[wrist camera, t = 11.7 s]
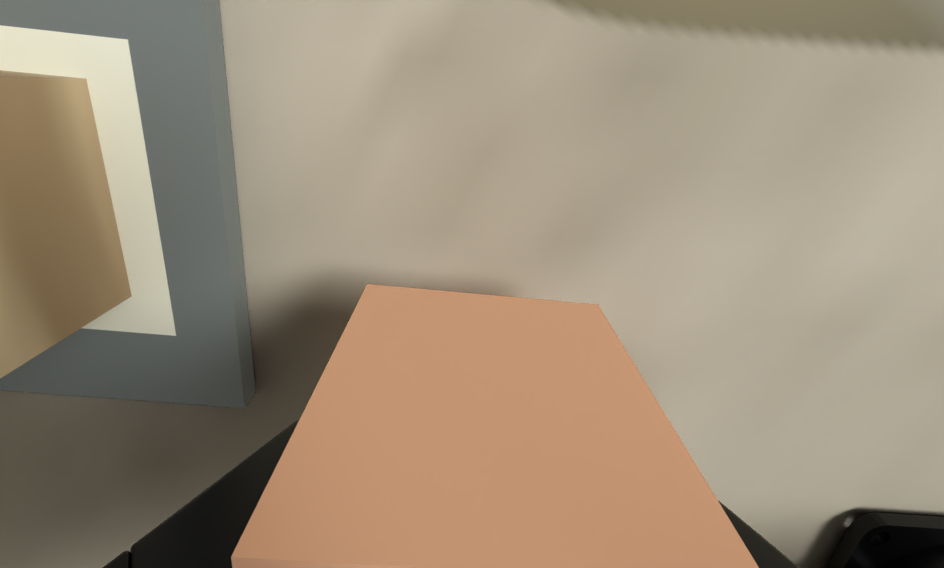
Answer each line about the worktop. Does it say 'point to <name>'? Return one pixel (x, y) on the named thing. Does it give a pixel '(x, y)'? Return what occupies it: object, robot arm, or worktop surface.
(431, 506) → the terracotta block
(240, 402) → the grey framed square tile
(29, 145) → the oak block
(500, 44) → the worktop surface
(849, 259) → the worktop surface
